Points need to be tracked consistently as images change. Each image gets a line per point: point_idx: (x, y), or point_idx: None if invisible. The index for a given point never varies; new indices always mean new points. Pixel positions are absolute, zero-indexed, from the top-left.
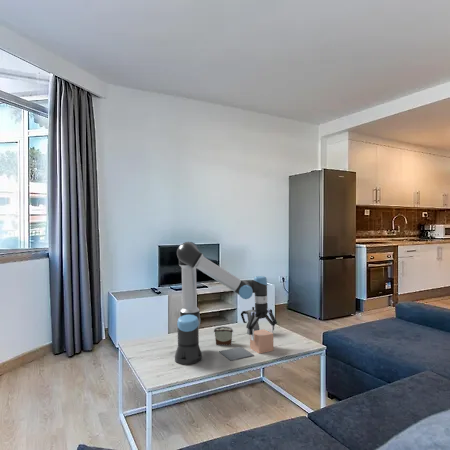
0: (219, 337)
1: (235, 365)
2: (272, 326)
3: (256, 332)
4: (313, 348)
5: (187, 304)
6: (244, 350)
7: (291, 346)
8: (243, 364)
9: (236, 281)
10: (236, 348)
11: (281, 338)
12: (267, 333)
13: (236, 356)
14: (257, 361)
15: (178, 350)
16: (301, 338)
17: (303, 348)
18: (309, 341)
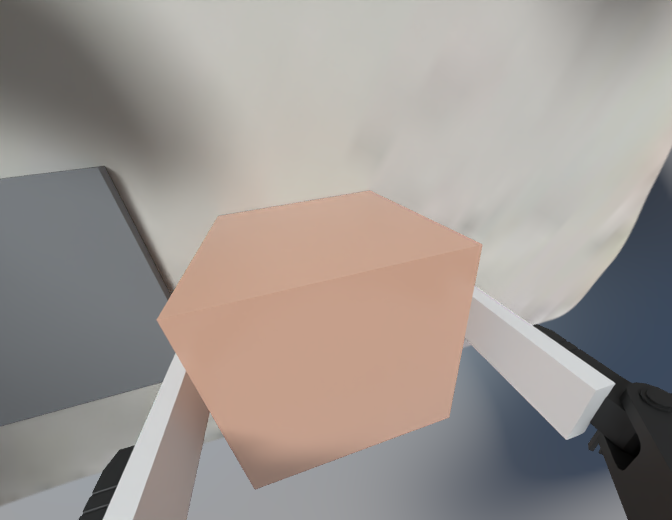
0: None
1: (30, 474)
2: (562, 425)
3: (281, 373)
4: (551, 316)
5: None
6: (133, 282)
7: (503, 268)
8: (98, 460)
9: None
10: (25, 207)
11: (589, 77)
12: (402, 411)
13: (30, 387)
14: (206, 428)
15: None
16: (658, 152)
17: (522, 308)
18: (629, 223)
